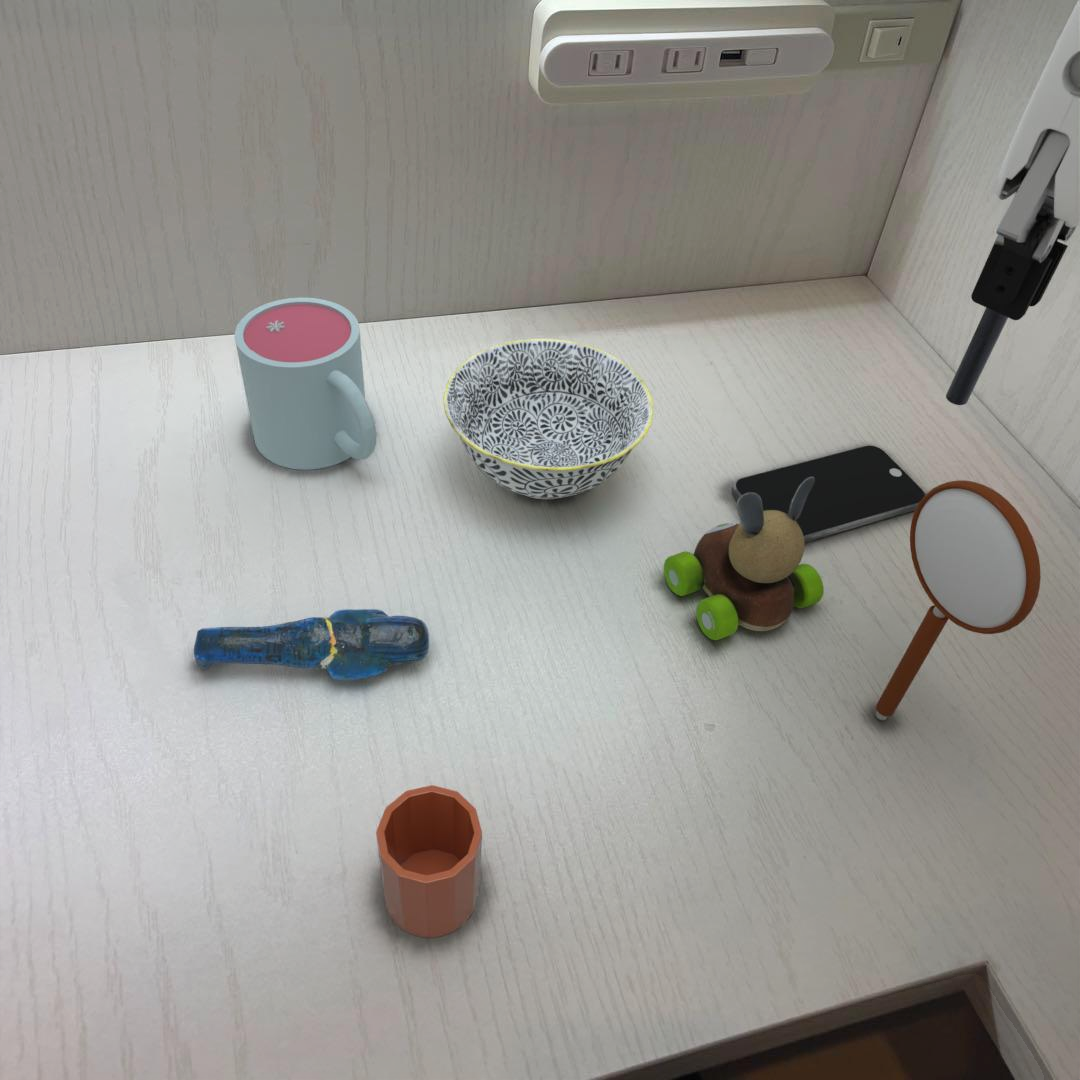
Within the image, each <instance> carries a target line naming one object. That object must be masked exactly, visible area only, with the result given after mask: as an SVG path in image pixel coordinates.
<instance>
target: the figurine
mask: <svg viewBox="0 0 1080 1080" xmlns="http://www.w3.org/2000/svg"><path fill="white" fill-rule="evenodd" d="M428 628H429V627H428V626H427V625H426V623H425V622H424V621H423V620H422V619H420V618H418V617H415V616H407V615H391V616H389V615H388V614H387V613H386V612H385V611H384V610H381V609H376V608H372V609H371V608H370V609H369V608H368V609H367V608H363V609H361V608H360V609H348V608H347V609H345V608H344V609H337V610H336V611H334V612H333V613H331V614H330V615H329V616H328V617H323V616H322V617H321V616H318V617H317V616H312V617H305V618H303V619H298V620H293V621H289V622H283V623H278V624H273V625H264V626H218V627H204V628H200V629H198V630H197V633H196V635H195V641H194V645H193V656H194V660H195V663H196V665H197V667H198V668H200V669H203V670H206V669H208V668H209V667H211V666H213V665H217V664H218V665H219V664H220V665H222V664H223V665H224V664H240V665H265V666H266V665H267V666H281V667H286V668H295V669H308V670H309V669H311V670H312V669H313V670H317V669H319V670H322V669H325V670H326V671H327V673H328V675H329V676H330V678H332V679H333V680H336V681H355V680H362V679H363V680H364V679H367V678H371V677H372V678H373V677H375V676H378V675H381V674H384V673H385V672H386V671H387V669H388V667H390V666H394V665H395V666H396V665H400V664H401V665H402V664H407V663H415V662H420V661H422V660H424V658H425V657H426V656H427V654H428V652H429V649H430V632H429V629H428Z"/></svg>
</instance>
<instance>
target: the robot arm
mask: <svg viewBox="0 0 1080 1080" xmlns="http://www.w3.org/2000/svg"><path fill="white" fill-rule="evenodd" d="M1006 151H1007V152H1006V153H1005V157H1004V159H1003V161H1002V164H1001V167H1000V169H999V172H998V176H997V177H996V178H997V179H996V181H995V185H994V188H995V192H996V195H997V197H998V198H999V200H1001V201H1004V200H1006V199H1009V198H1010V197H1011V196H1013V195H1014V196H1013V198H1012V200H1011V202H1010V204H1009V205H1008V208H1007V209H1006V212H1005V213H1004V214H1003V217H1002V219H1001V221H1000V222H999V224H998V226H997V229H996V232H995V234H997V235H996V238H995V241H994V242H993V245H992V247H991V249H990V252H989V254H988V256H987V258H986V261H985V262H984V265H983V267H982V270H981V272H980V273H979V274H980V275H979V277H978V278H977V281H976V284H975V286H974V288H973V290H972V292H971V295H970V298H971V300H972V302H973V303H975V304H977V305H979V306H982V307H984V308H985V309H986V308H988V309H991V310H993V311H995V312H997V313H999V314H1001V315H1004V316H1006V317H1008V319H1011V320H1013V321H1019V320H1020V319H1022V318H1023V317H1024V316H1025V315H1026V313H1027V312H1028V309H1029V307H1035V306H1037V305H1038V304H1039V303H1040V302H1041V301H1042V299H1043V296H1044V294H1045V292H1046V291H1047V289H1048V287H1049V284H1050V283H1051V281H1052V279H1053V277H1054V275H1055V272H1056V271H1057V268H1058V267H1059V265H1060V263H1061V261H1062V259H1063V257H1064V255H1065V253H1066V251H1067V249H1068V247H1069V245H1067V244H1065V243H1067V242H1068V241H1069V240H1070V239H1071V238H1072V236H1073V234H1074V232H1075V231H1076V228H1077V227H1079V226H1080V0H1077V2H1076V4H1075V6H1074V8H1073V10H1072V11H1071V13H1070V15H1069V18H1068V19H1067V21H1066V23H1065V25H1064V27H1063V30H1062V32H1061V33H1060V35H1059V37H1058V38H1057V39H1056V41H1055V46H1054V48H1053V50H1052V52H1051V54H1050V56H1049V58H1048V60H1047V62H1046V63H1045V66H1044V68H1043V71H1042V73H1041V75H1040V77H1039V80H1038V81H1037V84H1036V86H1035V88H1034V89H1033V92H1032V94H1031V96H1030V99H1029V101H1028V103H1027V105H1026V107H1025V109H1024V112H1023V114H1022V116H1021V119H1020V121H1019V123H1018V125H1017V128H1016V130H1015V132H1014V133H1013V138H1012V139H1011V141H1010V144H1009V146H1008V148H1007V150H1006ZM1037 215H1038V216H1041V217H1043V218H1046V219H1048V220H1049V221H1048V223H1047V226H1046V228H1045V229H1044V226H1045V223H1044V222H1042V221H1040V220H1037V219H1036V216H1037ZM1060 241H1061V242H1060ZM1063 242H1064V243H1063Z"/></svg>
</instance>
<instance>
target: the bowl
mask: <svg viewBox="0 0 1080 1080" xmlns="http://www.w3.org/2000/svg"><path fill="white" fill-rule="evenodd" d="M442 401H443V406H444V407H443V409H444V413H445V416H446V418H447V421H448V423H449V425H450V426H451V428H452V429H453V431H454V432H455V434H456V435H457V436H458V437H459V440H460V442H461V443H462V445H463V447H464V449H465V451H466V453H467V455H468V456H469V458H470V459H471V461H472V462H473V463H474V464H475V465H476V467H477V468H478V469H479V470H480V471H481V472H482V474H483V475H484V476H486V477H487V478H489V480H491V481H492V482H494V483H495V484H497V485H499V486H500V487H502V488H504V489H506V490H508V491H511V492H514V493H516V494H519V495H522V496H526V497H527V498H530V499H531V498H532V499H536V500H557V499H561V498H563V499H564V498H567V497H572V496H576V495H579V494H582V493H586V492H587V491H590V490H591V489H594V488H595V487H597V486H599V485H600V484H602V483H603V482H605V481H606V480H607V479H609V478H610V477H611V476H613V475H614V473H615V472H617V470H618V469H619V468H620V467H621V466H622V464H623V463H624V462H625V461H626V459H627V458H628V456H629V455H630V453H631V452H632V451H633V450H634V449H635V448H636V447H638V445H639V444H640V443H641V441H642V440H643V439H644V438H645V436H646V435H647V433H648V431H649V429H650V427H651V424H652V421H653V417H654V402H653V399H652V395H651V393H650V390H649V388H648V387H647V385H646V383H645V382H644V380H643V379H642V378H641V377H640V375H639V374H638V373H637V372H636V371H635V370H634V369H633V368H631V367H630V366H629V365H627V364H626V363H625V362H623V361H622V360H620V359H619V358H617V357H615V356H614V355H612V354H610V353H608V352H606V351H604V350H601V349H599V348H597V347H594V346H590V345H588V344H587V345H586V344H583V343H580V342H575V341H569V340H563V339H562V340H561V339H551V338H534V339H533V338H531V339H520V340H514V341H509V342H504V343H500V344H497V345H494V346H491V347H489V348H486V349H483V350H481V351H480V352H477V353H476V354H474V355H473V356H470V357H469V358H468V359H466V360H465V361H464V362H462V363H461V364H460V365H459V366H458V367H457V368H456V369H455V370H454V372H452V374H451V375H450V377H449V379H448V381H447V383H446V385H445V388H444V392H443V399H442Z"/></svg>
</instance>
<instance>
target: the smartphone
mask: <svg viewBox="0 0 1080 1080" xmlns="http://www.w3.org/2000/svg"><path fill="white" fill-rule="evenodd" d="M808 477H814V479H815V481H814V484H813V486H812V488H811V490H810V492H809V494H808V496H807V498H806V501H805V503H804V506H803V509H802V511H801V514H800V516H799V518H798V519H797V520H796V522H797V523H798V525H799V526H800V528H801V530H802V533H803V537H804V543H808V542H811V541H814V540H817V539H820V538H821V539H822V538H824V537H828V536H831V535H834V534H839V533H842V532H845V531H848V530H851V529H855V528H859V527H862V526H865V525H869V524H872V523H875V522H879V521H882V520H886V519H890V518H892V517H896V516H899V515H904V514H906V513H910V512H913V511H915V510H916V508H917V506H918V504H919V502H920V501H921V500H922V499H923V497H924V496H925V495H926V494H927V493H926V492H925V491H924V490H923V489H922V488H921V487H920V486H919V485H918V484H917V483H916V481H914V479H912V478H911V477H910V476H909V475H908V473H906V472H905V471H904V470H903V469H902V467H900V466H899V465H898V464H897V463H896V462H895V461H894V459H892V458H891V457H890V455H888V454H887V453H886V451H884V450H883V449H882V448H880V447H878V446H875V445H864V446H860V447H856V448H852V449H847V450H844V451H840V452H836V453H833V454H829V455H824V456H822V457H818V458H813V459H809V460H805V461H802V462H798V463H795V464H790V465H787V466H782V467H781V466H780V467H777V468H774V469H771V470H767V471H764V472H760V473H755V474H753V475H748V476H745V477H740V478H738V479H737V480H735V481H734V482H733V484H732V488H731V492H732V495H733V497H735V499H736V500H737V501H738V499H739V498H740V497H741V496H742V495H744V494H745V493H748V492H753V493H757V494H758V495H759V496H760V497H761V500H762V508H763V511H766V510H777V511H781V512H784V513H786V514H788V513H789V508H790V503H791V501H792V499H793V497H794V495H795V493H796V491H797V489H798V487H799V486H800V484H801V483H802V482H803V481H804V480H805V479H807V478H808Z"/></svg>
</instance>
